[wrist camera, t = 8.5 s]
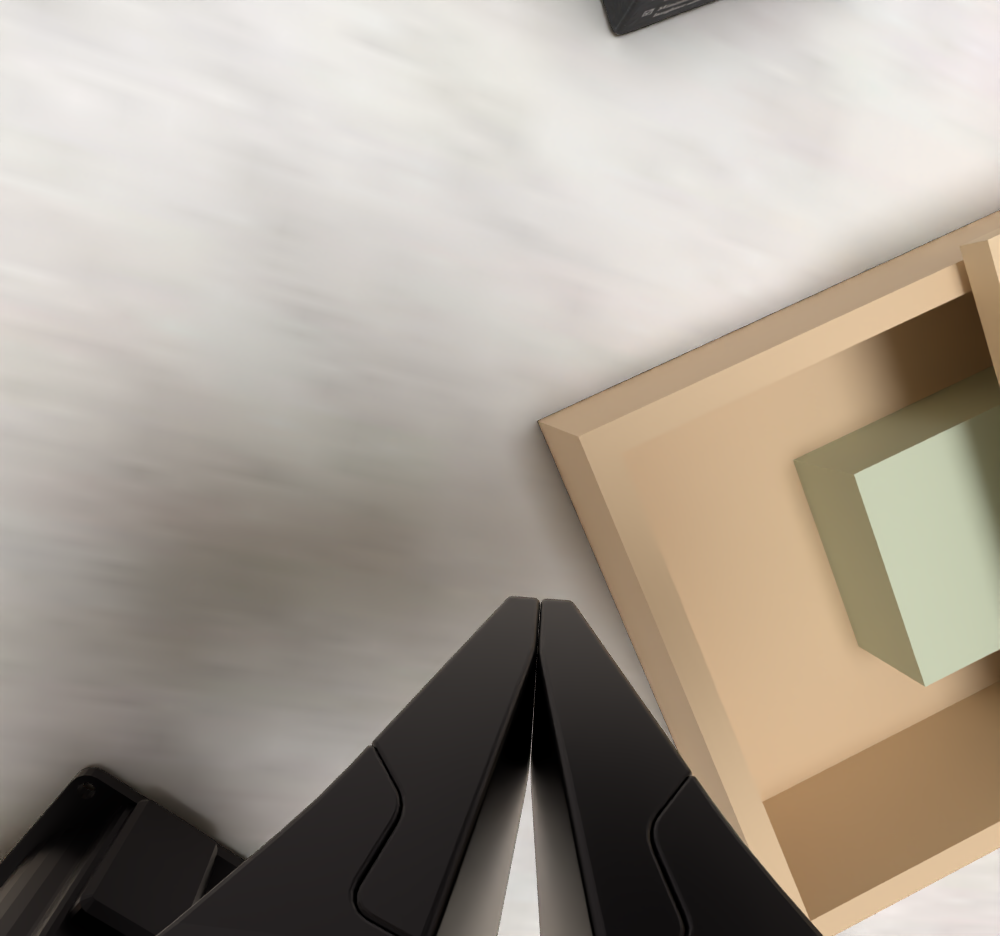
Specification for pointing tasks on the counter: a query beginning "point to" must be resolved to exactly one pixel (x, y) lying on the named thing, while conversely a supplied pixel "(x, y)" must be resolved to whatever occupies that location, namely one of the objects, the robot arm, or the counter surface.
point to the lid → (986, 287)
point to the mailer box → (818, 574)
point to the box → (644, 12)
